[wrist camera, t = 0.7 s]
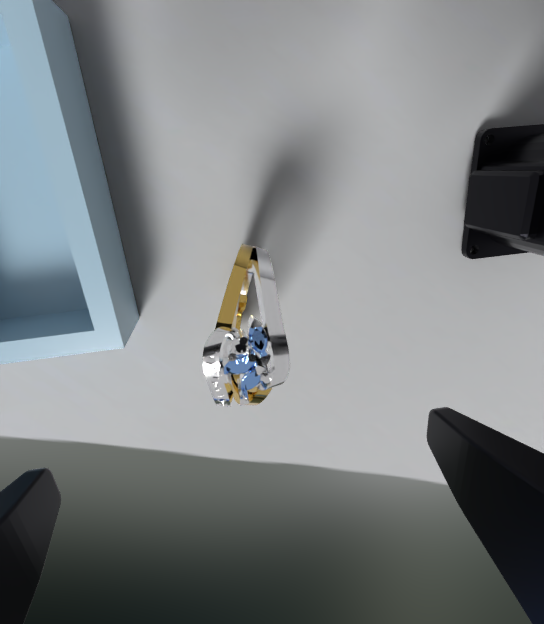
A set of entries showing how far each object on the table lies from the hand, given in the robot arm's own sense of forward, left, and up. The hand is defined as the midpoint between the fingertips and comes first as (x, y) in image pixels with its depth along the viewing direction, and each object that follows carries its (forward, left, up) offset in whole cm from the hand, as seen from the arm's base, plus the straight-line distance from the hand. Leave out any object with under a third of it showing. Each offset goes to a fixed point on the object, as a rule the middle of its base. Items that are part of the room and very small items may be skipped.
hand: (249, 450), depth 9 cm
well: (+9, -6, -12) cm, 16 cm away
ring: (0, 0, -12) cm, 12 cm away
